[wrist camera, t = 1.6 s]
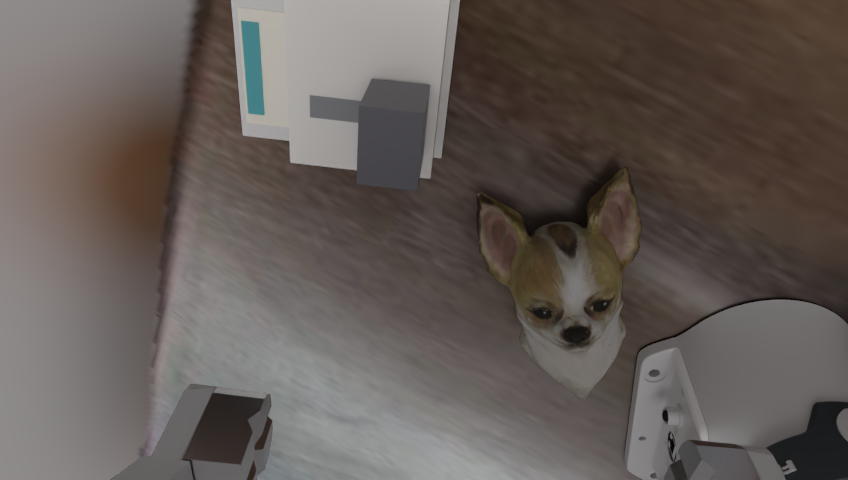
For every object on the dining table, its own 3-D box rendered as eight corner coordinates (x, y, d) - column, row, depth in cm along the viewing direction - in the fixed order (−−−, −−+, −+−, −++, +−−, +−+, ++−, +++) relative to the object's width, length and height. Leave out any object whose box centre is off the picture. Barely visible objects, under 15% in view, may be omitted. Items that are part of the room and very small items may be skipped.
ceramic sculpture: (508, 426, 40) (466, 238, 33) (502, 344, 47) (468, 177, 40) (671, 409, 38) (664, 206, 31) (638, 327, 45) (626, 148, 38)
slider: (423, 156, 32) (417, 191, 28) (368, 150, 32) (356, 184, 28) (430, 85, 29) (424, 113, 26) (371, 78, 29) (358, 105, 26)
